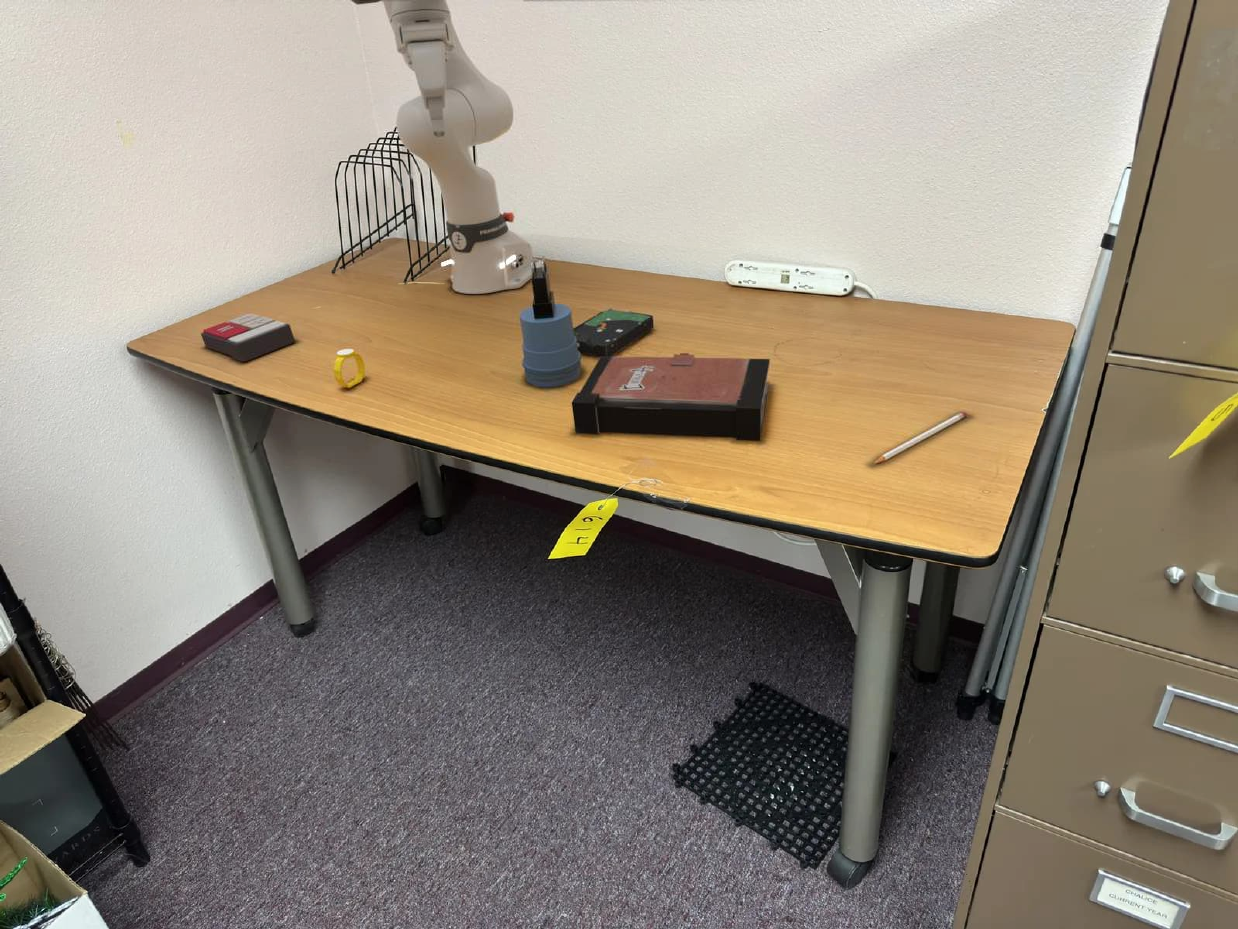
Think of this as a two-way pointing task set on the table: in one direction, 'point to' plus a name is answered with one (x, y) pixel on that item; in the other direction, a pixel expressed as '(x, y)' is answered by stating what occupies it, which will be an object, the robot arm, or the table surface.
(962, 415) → the pencil
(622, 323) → the disk drive
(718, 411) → the book
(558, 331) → the cup stack
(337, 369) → the watch
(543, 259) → the clip
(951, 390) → the table surface
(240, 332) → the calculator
